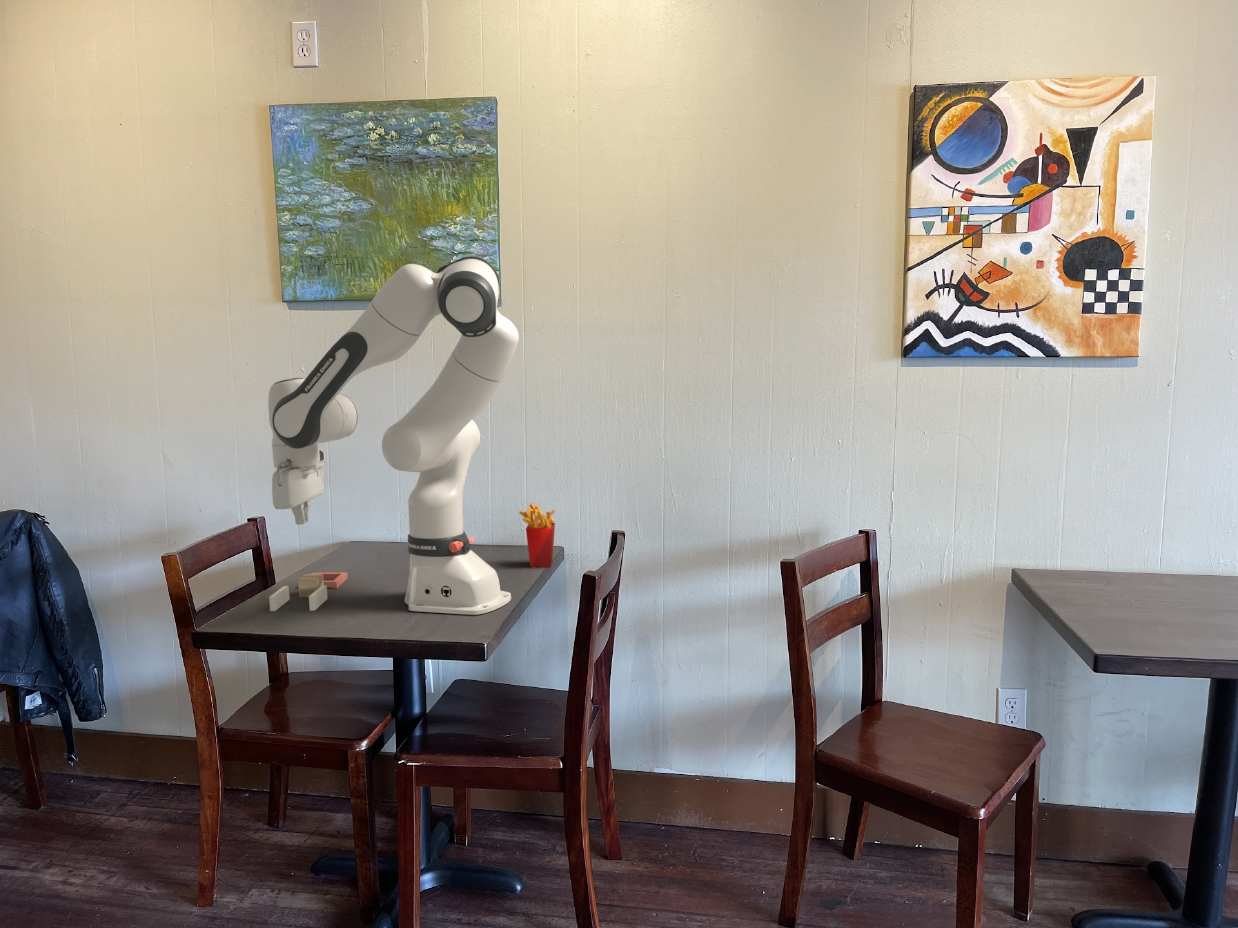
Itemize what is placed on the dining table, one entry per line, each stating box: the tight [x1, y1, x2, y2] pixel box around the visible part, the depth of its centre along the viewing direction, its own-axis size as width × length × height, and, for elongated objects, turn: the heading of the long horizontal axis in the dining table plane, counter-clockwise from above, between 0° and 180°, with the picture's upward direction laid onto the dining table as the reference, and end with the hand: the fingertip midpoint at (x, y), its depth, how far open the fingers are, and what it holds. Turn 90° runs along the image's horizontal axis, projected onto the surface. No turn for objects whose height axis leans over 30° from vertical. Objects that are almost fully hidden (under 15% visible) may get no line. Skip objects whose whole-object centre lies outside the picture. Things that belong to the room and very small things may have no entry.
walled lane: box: [268, 585, 328, 612], centre depth 177 cm, size 8×9×3 cm
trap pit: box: [311, 571, 348, 590], centre depth 193 cm, size 8×8×2 cm
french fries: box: [519, 503, 556, 569], centre depth 206 cm, size 9×8×15 cm
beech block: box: [297, 573, 324, 598], centre depth 185 cm, size 4×4×4 cm
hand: (302, 523), depth 178 cm, fingers closed
